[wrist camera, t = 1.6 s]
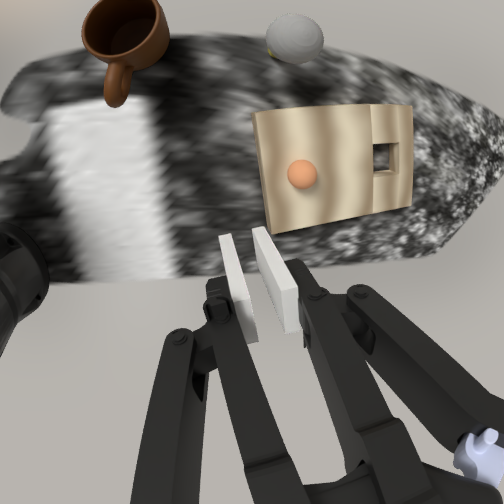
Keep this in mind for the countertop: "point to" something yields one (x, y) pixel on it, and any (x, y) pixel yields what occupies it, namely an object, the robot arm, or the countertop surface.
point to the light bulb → (294, 39)
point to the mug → (125, 41)
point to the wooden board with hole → (333, 162)
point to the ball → (302, 174)
